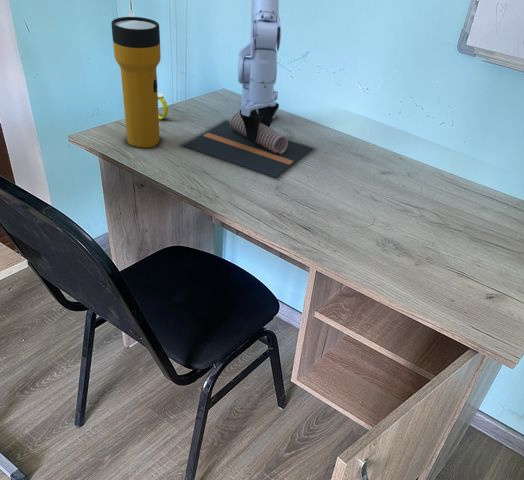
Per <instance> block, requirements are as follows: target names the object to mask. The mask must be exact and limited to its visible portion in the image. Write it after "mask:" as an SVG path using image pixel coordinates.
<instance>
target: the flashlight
mask: <svg viewBox="0 0 524 480" xmlns="http://www.w3.org/2000/svg"><path fill="white" fill-rule="evenodd" d="M160 33H161V32H160V24H159V22H158V21H156V20H154V19H151V18H146V17H142V16H121V17H117V18H114V19H113V20H111V35H112V45H113V53H114V54H113V55H114V60H115V61H116V63H117V64H118V66H119V67H120V76H121V87H122V88H121V89H122V97H123V99H122V100H123V109H124V119H125V120H124V121H125V130H126V131H125V133H126V139H127V140H126V141H127V143H128V145H130V146H133V147H137V148H143V149H144V148H145V149H149V148H153V147H155V146H157V145H158V143H159V142H160V121H159V120H160V119H159V115H160V114H159V99H158V93H159V92H158V91H159V90H158V76H157V75H158V73H157V67H158V65H159V64H160V62H161V59H162V57H161V55H162V54H161V35H160Z"/></svg>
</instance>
